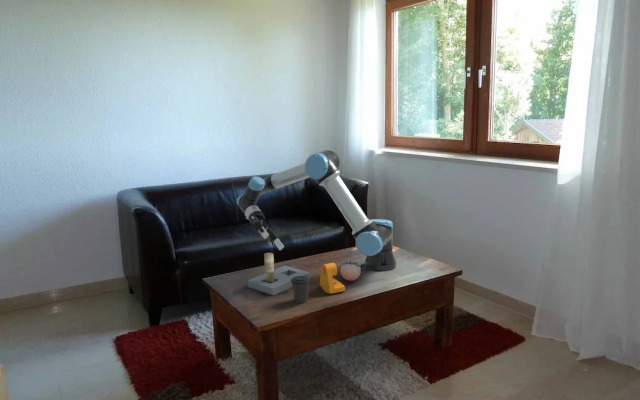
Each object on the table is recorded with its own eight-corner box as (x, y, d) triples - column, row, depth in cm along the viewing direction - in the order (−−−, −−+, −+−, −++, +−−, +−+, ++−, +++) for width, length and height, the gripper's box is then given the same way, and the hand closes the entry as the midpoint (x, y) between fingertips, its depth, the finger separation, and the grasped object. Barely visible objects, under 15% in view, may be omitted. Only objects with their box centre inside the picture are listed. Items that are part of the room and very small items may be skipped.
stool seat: (285, 271, 232) (285, 265, 232) (310, 278, 222) (310, 272, 221) (247, 286, 214) (247, 280, 214) (273, 295, 204) (273, 288, 203)
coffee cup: (313, 302, 196) (313, 279, 194) (294, 306, 193) (293, 282, 191) (307, 295, 203) (306, 272, 201) (288, 298, 201) (288, 275, 199)
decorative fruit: (340, 285, 214) (340, 263, 212) (340, 278, 222) (340, 257, 220) (361, 285, 213) (361, 263, 211) (360, 278, 221) (360, 257, 219)
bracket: (345, 292, 206) (345, 265, 203) (330, 295, 203) (329, 268, 200) (334, 284, 215) (334, 258, 213) (319, 286, 212) (319, 260, 210)
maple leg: (277, 286, 214) (275, 253, 211) (270, 289, 211) (268, 256, 208) (270, 284, 217) (268, 252, 214) (263, 287, 213) (261, 254, 210)
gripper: (263, 231, 250) (282, 258, 236) (235, 210, 231) (254, 237, 217) (273, 221, 250) (293, 247, 236) (246, 199, 231) (266, 226, 217)
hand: (274, 242), depth 227 cm, fingers open, 13 cm apart
